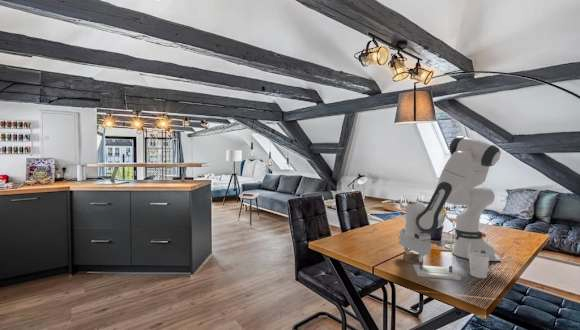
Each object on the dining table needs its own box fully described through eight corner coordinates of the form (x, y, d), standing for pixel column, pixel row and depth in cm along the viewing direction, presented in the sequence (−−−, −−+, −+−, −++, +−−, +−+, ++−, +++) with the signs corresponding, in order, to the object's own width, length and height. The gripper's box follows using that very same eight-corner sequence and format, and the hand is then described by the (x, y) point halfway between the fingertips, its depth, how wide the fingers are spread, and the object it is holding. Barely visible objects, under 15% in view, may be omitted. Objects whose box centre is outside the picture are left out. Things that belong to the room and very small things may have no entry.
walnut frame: (418, 260, 156) (419, 251, 156) (423, 263, 152) (423, 253, 152) (403, 261, 155) (403, 251, 155) (406, 264, 151) (407, 254, 151)
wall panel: (452, 270, 143) (452, 262, 143) (460, 280, 131) (460, 271, 131) (413, 266, 147) (413, 259, 147) (418, 276, 136) (418, 268, 135)
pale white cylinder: (480, 272, 141) (481, 251, 141) (492, 279, 133) (493, 257, 133) (464, 272, 141) (465, 251, 140) (475, 279, 133) (476, 257, 133)
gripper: (396, 228, 162) (395, 252, 162) (423, 237, 142) (422, 265, 143) (405, 227, 164) (405, 251, 164) (433, 236, 144) (432, 264, 145)
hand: (413, 258), depth 153 cm, fingers open, 8 cm apart
